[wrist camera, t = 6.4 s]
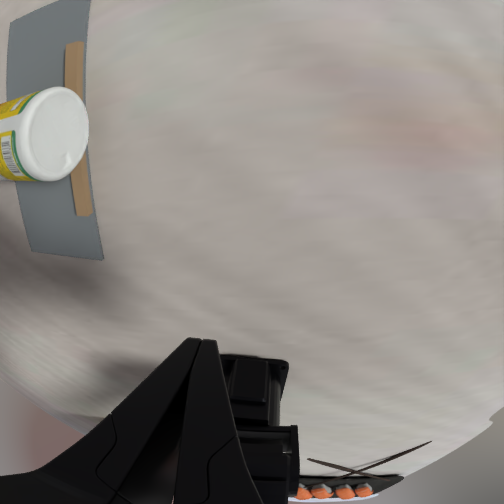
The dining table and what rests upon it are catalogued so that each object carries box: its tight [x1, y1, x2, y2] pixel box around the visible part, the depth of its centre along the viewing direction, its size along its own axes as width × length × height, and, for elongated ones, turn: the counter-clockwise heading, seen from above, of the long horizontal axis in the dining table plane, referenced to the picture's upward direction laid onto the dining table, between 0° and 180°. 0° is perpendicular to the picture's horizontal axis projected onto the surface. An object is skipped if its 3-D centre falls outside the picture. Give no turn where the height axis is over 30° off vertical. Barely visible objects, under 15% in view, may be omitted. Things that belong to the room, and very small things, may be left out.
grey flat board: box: [6, 0, 104, 260], centre depth 16 cm, size 20×8×1 cm, turn 177°
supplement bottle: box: [0, 87, 89, 182], centre depth 14 cm, size 5×5×10 cm
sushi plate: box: [288, 441, 432, 500], centre depth 42 cm, size 29×30×4 cm
